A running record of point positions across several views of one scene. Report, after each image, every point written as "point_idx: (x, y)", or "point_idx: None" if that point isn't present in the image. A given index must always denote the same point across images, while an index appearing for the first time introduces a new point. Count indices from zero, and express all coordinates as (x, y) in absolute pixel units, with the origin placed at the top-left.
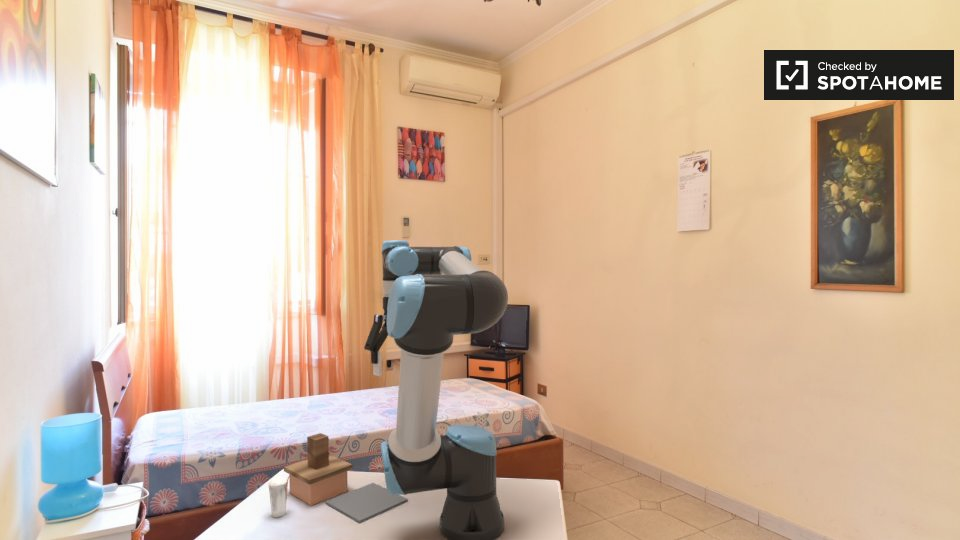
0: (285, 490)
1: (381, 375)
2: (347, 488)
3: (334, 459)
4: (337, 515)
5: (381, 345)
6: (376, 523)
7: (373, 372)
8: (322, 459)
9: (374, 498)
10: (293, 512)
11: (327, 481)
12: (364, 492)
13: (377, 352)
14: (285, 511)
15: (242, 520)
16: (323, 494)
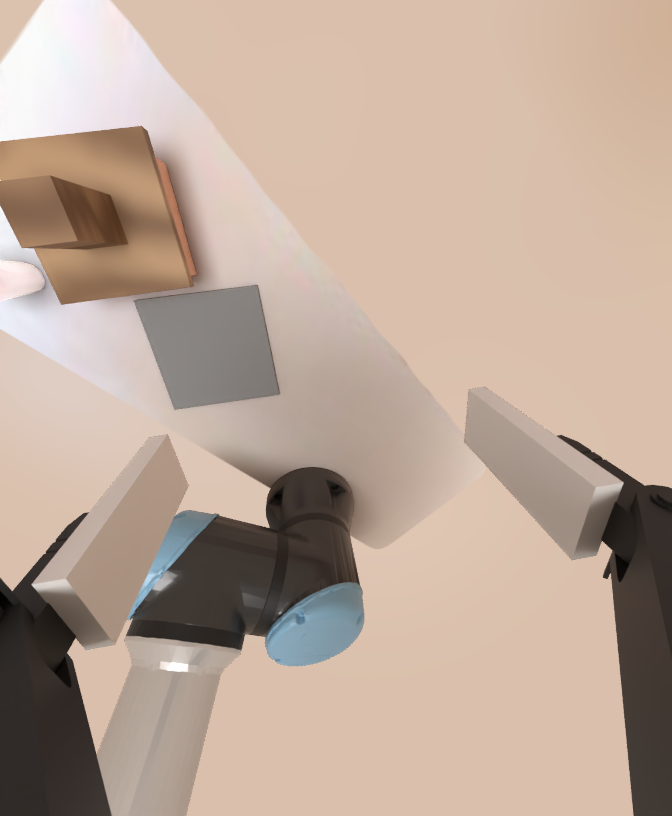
0: (2, 300)
1: (186, 487)
2: (194, 274)
3: (154, 210)
4: (148, 360)
5: (81, 723)
6: (201, 423)
7: (142, 448)
8: (95, 246)
9: (228, 354)
10: None
11: None
12: (221, 318)
13: (75, 631)
14: (41, 284)
15: None
16: None
